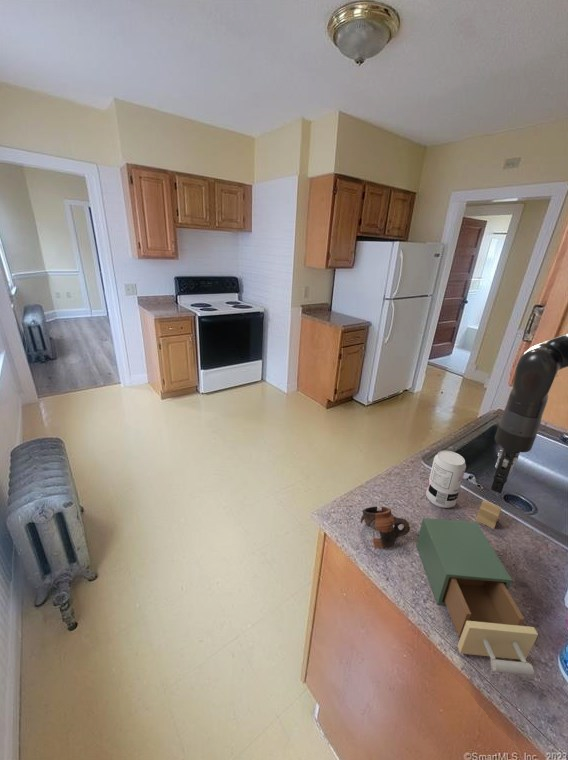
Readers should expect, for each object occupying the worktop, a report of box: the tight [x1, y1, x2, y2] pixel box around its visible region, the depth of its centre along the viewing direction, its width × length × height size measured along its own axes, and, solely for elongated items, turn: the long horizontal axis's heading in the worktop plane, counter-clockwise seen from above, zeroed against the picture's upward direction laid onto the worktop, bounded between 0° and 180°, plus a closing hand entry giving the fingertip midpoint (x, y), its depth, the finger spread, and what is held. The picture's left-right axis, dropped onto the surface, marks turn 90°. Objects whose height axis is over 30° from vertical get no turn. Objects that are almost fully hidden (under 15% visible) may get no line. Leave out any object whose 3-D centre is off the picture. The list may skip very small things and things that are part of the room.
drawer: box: [443, 577, 539, 676], centre depth 61 cm, size 18×11×7 cm, turn 175°
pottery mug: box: [360, 506, 411, 549], centre depth 83 cm, size 12×9×8 cm
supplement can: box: [425, 450, 467, 509], centre depth 93 cm, size 8×8×15 cm
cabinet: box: [415, 517, 513, 606], centre depth 72 cm, size 15×13×9 cm
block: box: [475, 499, 502, 530], centre depth 88 cm, size 4×4×4 cm
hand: (499, 482), depth 82 cm, fingers open, 8 cm apart
